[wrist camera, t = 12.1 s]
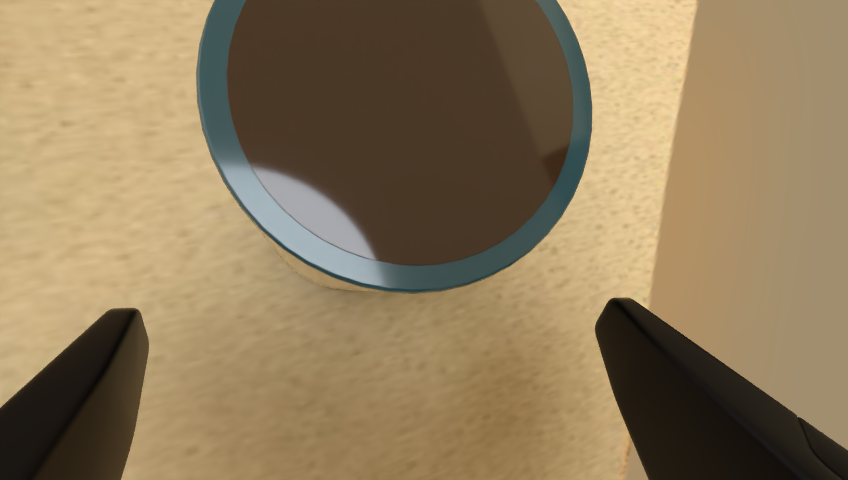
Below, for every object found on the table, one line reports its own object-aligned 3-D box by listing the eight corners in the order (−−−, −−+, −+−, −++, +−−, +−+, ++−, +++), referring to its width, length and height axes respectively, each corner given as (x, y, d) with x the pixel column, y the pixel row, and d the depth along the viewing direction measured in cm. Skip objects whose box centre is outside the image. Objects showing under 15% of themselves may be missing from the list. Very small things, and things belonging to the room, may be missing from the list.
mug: (378, 319, 20) (490, 369, 8) (229, 235, 19) (96, 145, 7) (483, 133, 22) (702, -57, 10) (353, 46, 21) (419, -285, 9)
